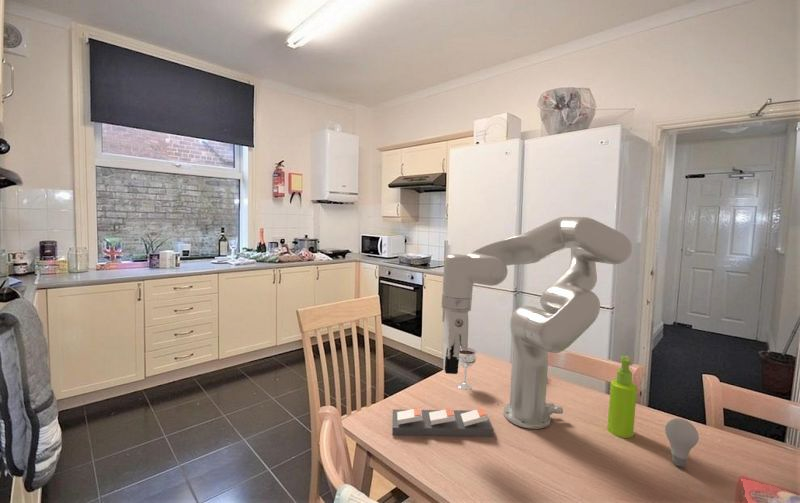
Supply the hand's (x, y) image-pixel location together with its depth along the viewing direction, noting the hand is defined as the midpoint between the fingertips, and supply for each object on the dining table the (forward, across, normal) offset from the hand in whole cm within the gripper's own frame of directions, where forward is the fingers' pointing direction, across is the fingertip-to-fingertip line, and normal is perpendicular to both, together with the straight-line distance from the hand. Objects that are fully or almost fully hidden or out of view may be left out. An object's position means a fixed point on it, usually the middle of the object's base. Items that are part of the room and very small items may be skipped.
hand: (450, 372), depth 95 cm
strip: (+16, +2, +1) cm, 16 cm away
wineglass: (+15, +26, -10) cm, 32 cm away
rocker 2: (+12, 0, -7) cm, 14 cm away
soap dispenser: (+14, +1, -47) cm, 49 cm away
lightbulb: (+14, -14, -52) cm, 55 cm away
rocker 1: (+13, +1, +10) cm, 16 cm away
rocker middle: (+12, +1, +1) cm, 12 cm away
